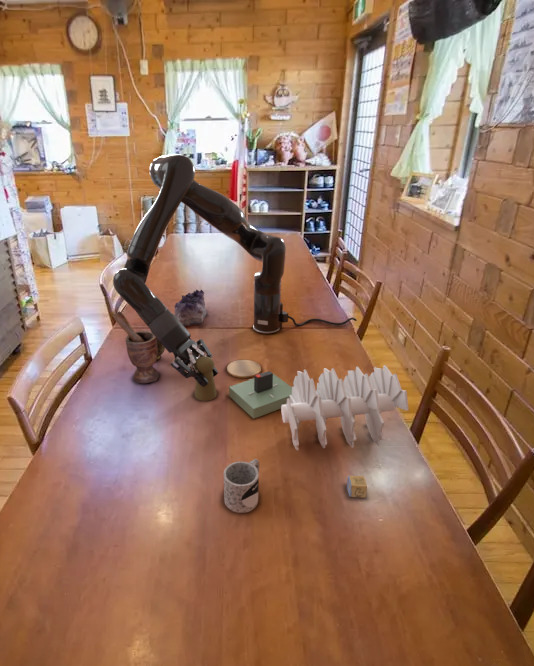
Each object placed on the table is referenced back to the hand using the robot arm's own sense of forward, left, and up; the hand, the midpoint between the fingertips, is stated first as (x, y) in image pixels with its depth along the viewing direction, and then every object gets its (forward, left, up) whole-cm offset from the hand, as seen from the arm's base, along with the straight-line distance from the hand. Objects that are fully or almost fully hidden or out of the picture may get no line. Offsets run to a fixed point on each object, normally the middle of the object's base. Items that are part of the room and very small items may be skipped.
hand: (211, 379), depth 120 cm
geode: (-19, -51, -5) cm, 54 cm away
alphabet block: (-8, +45, -5) cm, 47 cm away
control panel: (-11, +8, -5) cm, 15 cm away
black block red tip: (-11, +8, -2) cm, 14 cm away
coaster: (-15, -8, -5) cm, 18 cm away
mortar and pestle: (+13, -20, -5) cm, 24 cm away
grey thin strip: (+11, +34, -5) cm, 37 cm away
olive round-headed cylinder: (+1, -2, -5) cm, 6 cm away
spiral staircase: (-16, +30, -5) cm, 35 cm away
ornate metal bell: (+5, -28, -5) cm, 28 cm away
